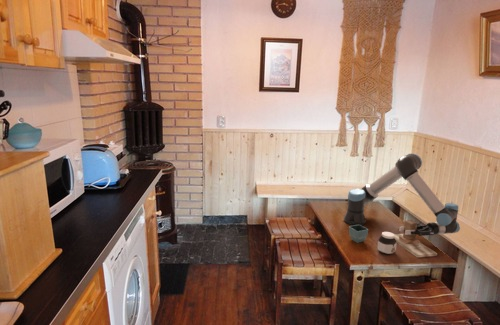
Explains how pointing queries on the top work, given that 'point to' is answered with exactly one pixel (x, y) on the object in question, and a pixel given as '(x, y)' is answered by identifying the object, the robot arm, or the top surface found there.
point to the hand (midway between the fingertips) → (402, 230)
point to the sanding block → (411, 238)
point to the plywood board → (415, 248)
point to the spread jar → (387, 243)
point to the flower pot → (358, 233)
